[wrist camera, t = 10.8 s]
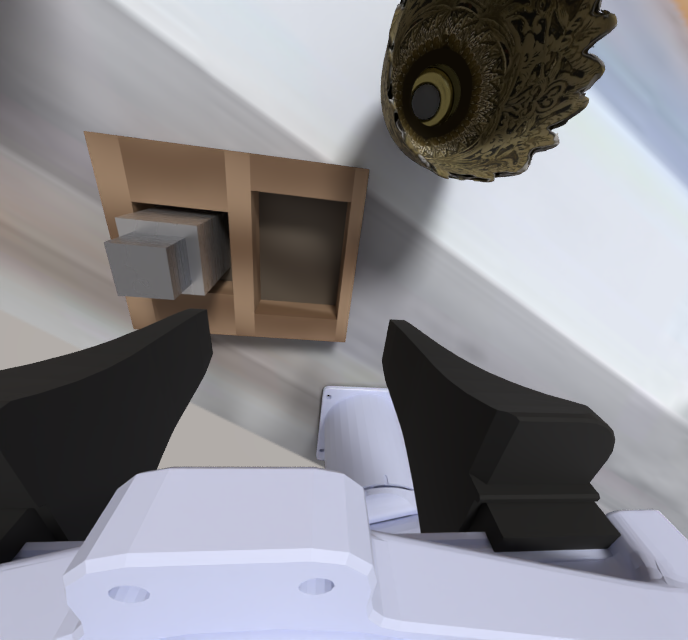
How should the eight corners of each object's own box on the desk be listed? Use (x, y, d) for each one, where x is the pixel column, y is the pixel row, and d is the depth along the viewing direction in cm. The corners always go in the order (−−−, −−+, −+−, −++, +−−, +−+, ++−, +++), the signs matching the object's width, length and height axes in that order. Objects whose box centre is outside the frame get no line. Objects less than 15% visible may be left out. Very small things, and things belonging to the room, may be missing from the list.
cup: (348, 163, 18) (367, 162, 11) (375, -7, 14) (428, -173, 7) (462, 185, 19) (548, 198, 12) (513, 33, 15) (677, -79, 8)
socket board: (342, 325, 23) (344, 342, 21) (153, 311, 21) (133, 328, 19) (363, 168, 18) (369, 169, 16) (115, 135, 16) (83, 131, 14)
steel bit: (230, 266, 20) (189, 312, 14) (174, 261, 19) (106, 306, 13) (226, 210, 18) (178, 235, 12) (165, 204, 18) (83, 225, 12)
